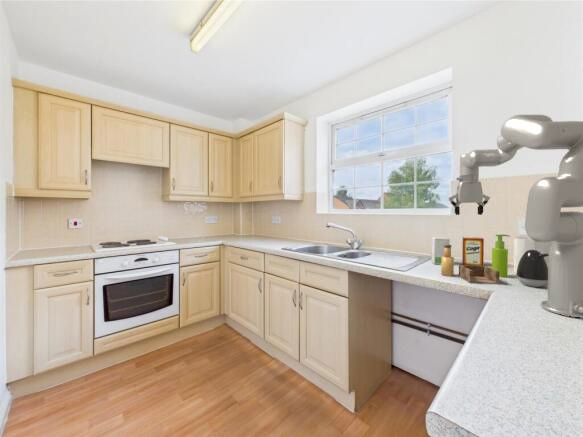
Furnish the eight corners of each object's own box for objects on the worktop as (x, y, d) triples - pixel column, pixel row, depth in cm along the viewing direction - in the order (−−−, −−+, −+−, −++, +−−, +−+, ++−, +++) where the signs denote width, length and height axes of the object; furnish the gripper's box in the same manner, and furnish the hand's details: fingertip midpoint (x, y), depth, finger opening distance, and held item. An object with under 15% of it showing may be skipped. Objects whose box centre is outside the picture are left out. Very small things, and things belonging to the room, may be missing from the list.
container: (518, 276, 123) (519, 239, 122) (510, 270, 135) (510, 236, 135) (560, 280, 116) (560, 240, 115) (546, 272, 129) (547, 237, 128)
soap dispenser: (512, 277, 120) (513, 235, 119) (496, 277, 121) (496, 235, 120) (505, 274, 126) (505, 234, 125) (489, 274, 127) (489, 234, 126)
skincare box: (433, 264, 151) (433, 238, 150) (431, 262, 157) (431, 236, 156) (449, 265, 148) (450, 238, 148) (446, 262, 154) (446, 237, 154)
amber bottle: (455, 276, 123) (455, 245, 123) (443, 276, 124) (443, 245, 124) (451, 274, 128) (451, 244, 128) (439, 273, 130) (439, 244, 129)
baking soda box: (463, 264, 148) (463, 237, 147) (462, 262, 154) (462, 236, 153) (483, 266, 143) (483, 238, 142) (481, 264, 149) (482, 236, 148)
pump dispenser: (538, 290, 102) (539, 252, 101) (510, 283, 112) (510, 248, 111) (556, 287, 104) (557, 250, 104) (527, 281, 114) (527, 247, 114)
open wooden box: (499, 284, 110) (499, 271, 110) (469, 283, 113) (469, 270, 113) (485, 277, 121) (485, 265, 121) (458, 276, 124) (458, 265, 124)
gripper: (451, 179, 123) (451, 215, 123) (493, 177, 118) (493, 214, 119) (446, 181, 130) (446, 214, 131) (485, 179, 126) (485, 214, 126)
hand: (468, 214), depth 125 cm, fingers open, 9 cm apart
